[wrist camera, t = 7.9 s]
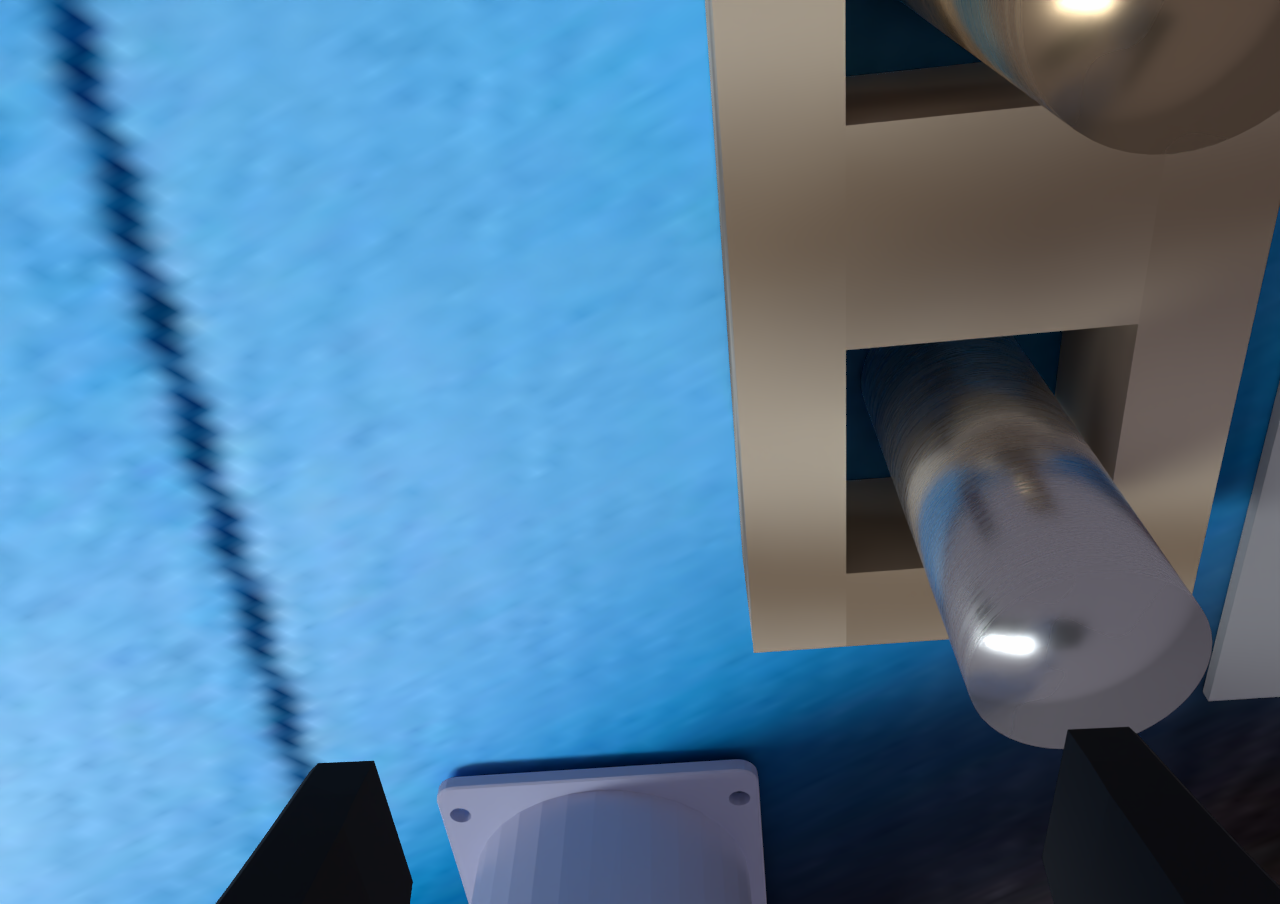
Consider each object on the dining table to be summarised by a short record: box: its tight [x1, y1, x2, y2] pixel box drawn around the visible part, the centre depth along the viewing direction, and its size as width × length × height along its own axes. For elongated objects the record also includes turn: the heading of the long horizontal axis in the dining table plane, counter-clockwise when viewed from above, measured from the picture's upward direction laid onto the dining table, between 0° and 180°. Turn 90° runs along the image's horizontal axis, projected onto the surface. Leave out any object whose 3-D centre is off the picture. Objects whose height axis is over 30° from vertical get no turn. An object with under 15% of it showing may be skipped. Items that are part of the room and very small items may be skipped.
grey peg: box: [861, 335, 1212, 749], centre depth 16 cm, size 3×3×8 cm
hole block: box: [705, 0, 1280, 653], centre depth 16 cm, size 16×8×3 cm, turn 6°
